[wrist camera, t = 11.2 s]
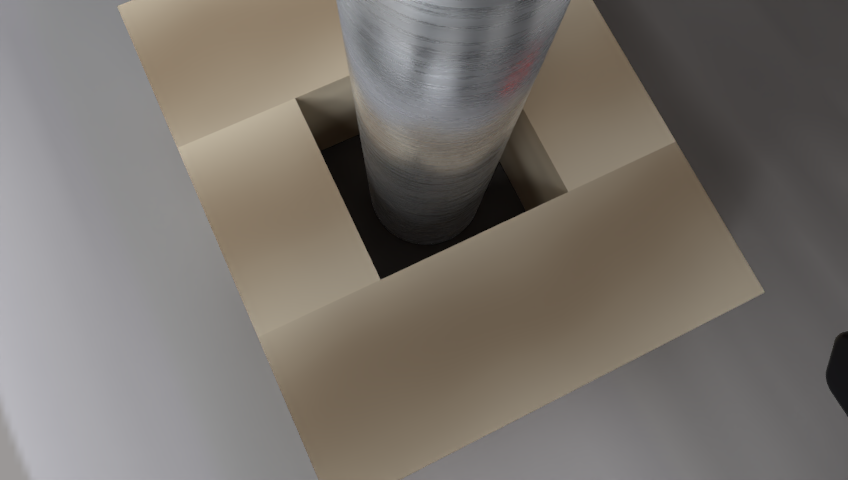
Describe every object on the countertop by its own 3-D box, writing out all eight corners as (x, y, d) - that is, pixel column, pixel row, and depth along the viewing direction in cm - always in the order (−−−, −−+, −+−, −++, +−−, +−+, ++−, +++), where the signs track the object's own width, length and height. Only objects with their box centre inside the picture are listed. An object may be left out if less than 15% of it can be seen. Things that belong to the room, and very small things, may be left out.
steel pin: (528, 197, 17) (993, -469, 4) (419, 293, 17) (497, -82, 3) (431, 95, 18) (522, -818, 4) (322, 184, 17) (14, -555, 4)
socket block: (691, 309, 17) (764, 292, 13) (348, 483, 16) (333, 513, 12) (487, -51, 19) (506, -145, 16) (172, 77, 18) (117, 6, 14)
